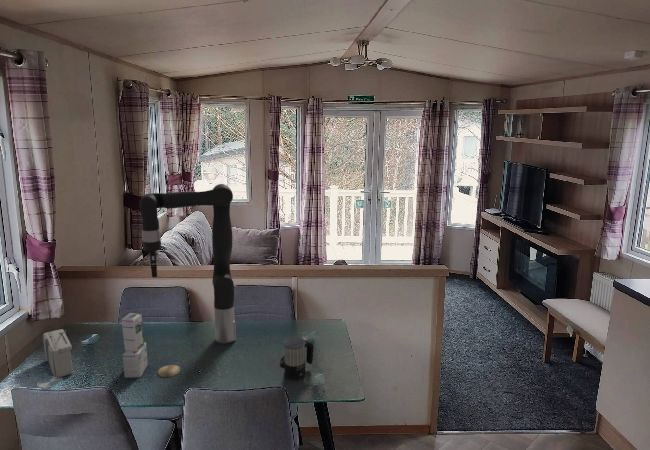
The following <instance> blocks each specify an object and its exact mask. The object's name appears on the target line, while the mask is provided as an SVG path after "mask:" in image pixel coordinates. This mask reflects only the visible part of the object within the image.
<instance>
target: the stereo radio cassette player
mask: <svg viewBox="0 0 650 450" xmlns="http://www.w3.org/2000/svg"><path fill="white" fill-rule="evenodd" d="M66 332H67V330H66V329H65V330H64V329H63V328H61V329H56V330H52V331H48V332H44V333H43V334H42V340H43V348H44V353H45V358H46V361H47V363H48V365H49V368H50V371H51V374H52V376H53V377H54V378H55V379H59V378H62V377H65V376H69V375H72V374H73V372H74V371H73V370H74V369H73V362H72V355H71V350H73V346H72V344H71V342H70V339H69V338H68V336H67V334H66Z"/></svg>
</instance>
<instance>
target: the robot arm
mask: <svg viewBox="0 0 650 450" xmlns="http://www.w3.org/2000/svg"><path fill="white" fill-rule="evenodd" d="M233 200H234V193H233V192H232V190H231V187H229V186H228V185H227V184H225V183H219V184H217V185H215V186H214V187H213V188H212V189H209V190H204V191H173V192H165V193H162V192H161V193H160V192H159V193H158V192H155V193H154V192H152V193H146V194H144V195H143V196H142V197H141V199H140V201H139V209H140V216H141V227H142V233H141V234H142V236H141V237H142V246H143V247H142V248H143V251H145V252H148V253H147V255H148V261H149V263H148V264H149V266H150V270H151V278H157V277H158V271H157V270H158V266H157V265H158V263H159V262H158V258H159V255H158V253H159V252H157V251H160V250H162V239H161V237H162V236H161V231H160V230H161V229H160V222H159V217H158V209H163V208H165V209H166V210H168V209H178V208H179V209H180V208H188V207H197V206H199V207H200V206H211V207H212V206H213V207H212V208H213V219H212V230H211V231H212V232H211V242H212V243H211V245H212V257H213V273H212V286H213V295H214V298H213V299H214V300H213V306H214V307H213V309H214V310H213V311H214V314H213V315H214V330H215V331H214V332H215V336H214V337H215V341H216V343H219V344H229V343H232V342H234V341H237V336H236V333H237V332H236V331H237V329H236V321H235V283H234V280H233V278H232V275H231V266H230V265H231V264H230V263H231V262H230V261H231V260H230V259H231V256H232V250H233V227H232V221H231V214H230V212H231V211H230V210H231V203H232V202H233Z"/></svg>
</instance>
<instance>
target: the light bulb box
mask: <svg viewBox="0 0 650 450" xmlns="http://www.w3.org/2000/svg"><path fill="white" fill-rule="evenodd" d="M148 362H149V361H148V353H147V342H145V341H144V346H143V347H142V348H140V349H139V350H138V351H137V352H136V351H128V350H125V351H124V353H122V363H123V371H124V372H123V373H124V378H141V377H142V375H143V373H144V371H145V370H146V369H147V366H148V365H149V363H148Z"/></svg>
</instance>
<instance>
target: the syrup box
mask: <svg viewBox="0 0 650 450" xmlns="http://www.w3.org/2000/svg"><path fill="white" fill-rule="evenodd" d="M142 316H143V315H142V314H141V313H135V312H132V313H131V312H130V313H128V314H126V315H125V316H124V317H122V318H121V325H122V336H123V343H124V350H125V351H126V350H128V351H136V352H137V351H138V350H139V349H140V348H142V347H143V346H144V342H145V338H144V337H145V336H144V335H145V334H144V329H143V328H144V327H143V318H142Z"/></svg>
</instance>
